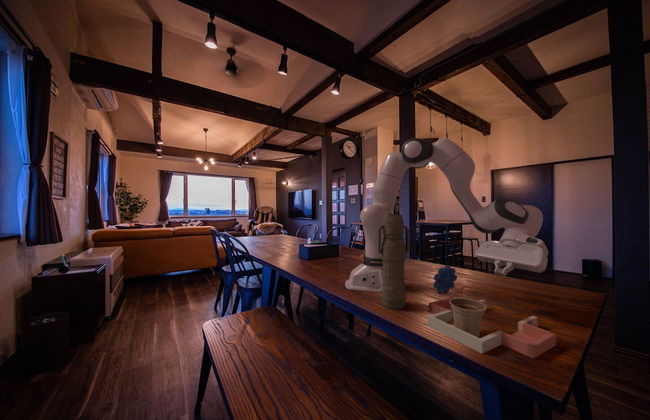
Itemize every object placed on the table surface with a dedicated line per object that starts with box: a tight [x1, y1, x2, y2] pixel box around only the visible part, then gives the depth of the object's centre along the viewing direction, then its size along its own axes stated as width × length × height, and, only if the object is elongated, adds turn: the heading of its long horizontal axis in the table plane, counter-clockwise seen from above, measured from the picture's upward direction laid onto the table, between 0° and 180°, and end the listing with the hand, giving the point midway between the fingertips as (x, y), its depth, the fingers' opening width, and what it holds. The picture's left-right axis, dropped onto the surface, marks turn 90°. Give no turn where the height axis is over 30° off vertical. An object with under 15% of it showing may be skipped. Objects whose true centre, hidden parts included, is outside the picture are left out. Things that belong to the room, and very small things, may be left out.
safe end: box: [427, 310, 504, 354], centre depth 70 cm, size 10×16×3 cm, turn 27°
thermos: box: [377, 213, 410, 310], centre depth 91 cm, size 9×12×35 cm
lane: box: [477, 299, 539, 333], centre depth 79 cm, size 9×16×3 cm, turn 27°
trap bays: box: [428, 296, 557, 360], centre depth 75 cm, size 12×30×3 cm, turn 27°
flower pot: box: [449, 297, 487, 338], centre depth 70 cm, size 9×9×9 cm
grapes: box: [432, 264, 458, 294], centre depth 105 cm, size 12×7×12 cm, turn 104°
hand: (499, 273), depth 81 cm, fingers closed
